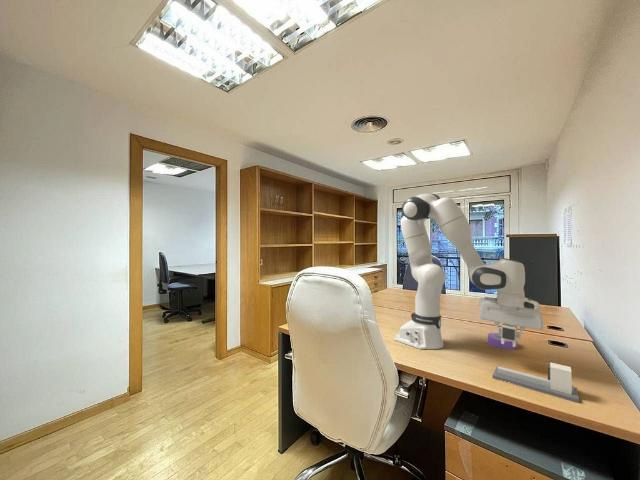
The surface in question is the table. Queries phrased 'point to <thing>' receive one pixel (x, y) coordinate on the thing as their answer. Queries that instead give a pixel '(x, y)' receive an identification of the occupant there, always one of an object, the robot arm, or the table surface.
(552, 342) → the table surface
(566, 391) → the rail
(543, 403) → the table surface
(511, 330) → the block
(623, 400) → the table surface
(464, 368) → the table surface
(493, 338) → the masking tape
